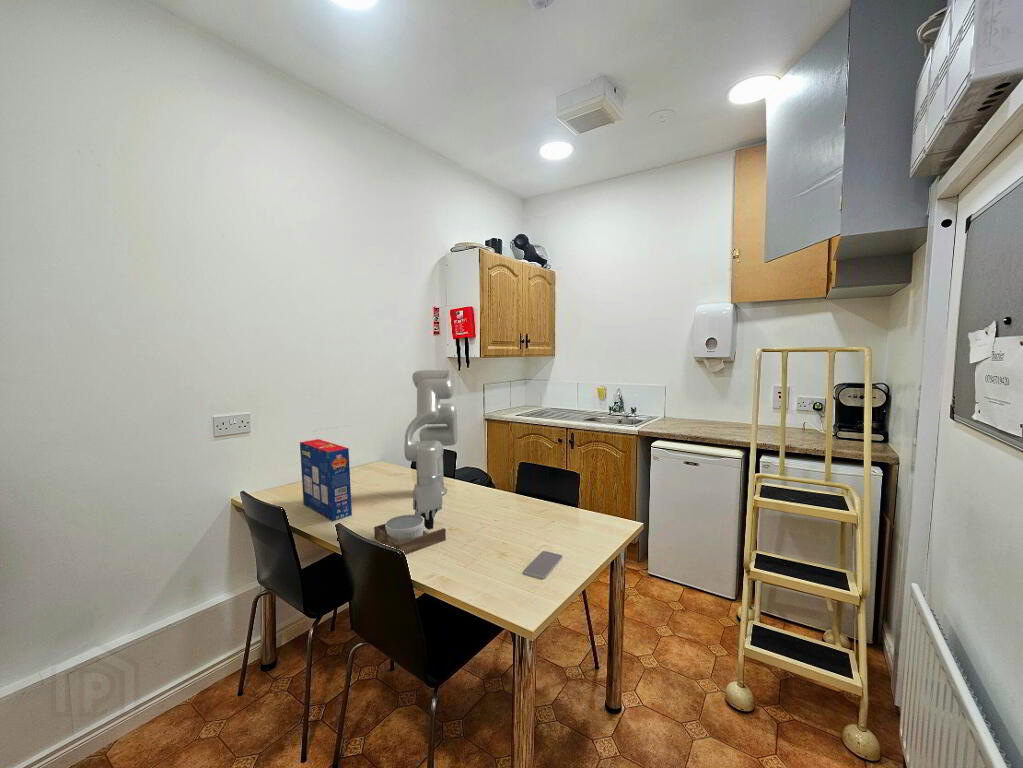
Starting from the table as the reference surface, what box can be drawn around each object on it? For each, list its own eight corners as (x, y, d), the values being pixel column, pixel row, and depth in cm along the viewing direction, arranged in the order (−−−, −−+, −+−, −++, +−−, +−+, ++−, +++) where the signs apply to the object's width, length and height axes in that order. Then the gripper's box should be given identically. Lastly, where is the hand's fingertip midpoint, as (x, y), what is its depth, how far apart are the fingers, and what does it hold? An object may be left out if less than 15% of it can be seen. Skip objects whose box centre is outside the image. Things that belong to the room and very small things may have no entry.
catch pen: (374, 537, 148) (374, 526, 148) (419, 523, 160) (419, 513, 159) (398, 557, 134) (397, 545, 133) (445, 539, 145) (445, 529, 145)
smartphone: (563, 555, 132) (544, 577, 119) (563, 558, 132) (544, 580, 119) (542, 550, 136) (521, 571, 123) (542, 553, 136) (521, 574, 123)
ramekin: (409, 529, 154) (408, 511, 154) (432, 538, 146) (432, 519, 146) (378, 542, 144) (377, 523, 144) (401, 553, 136) (401, 533, 135)
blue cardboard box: (351, 515, 169) (348, 448, 166) (332, 521, 163) (328, 452, 160) (321, 499, 187) (318, 439, 185) (303, 504, 181) (299, 442, 179)
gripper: (439, 472, 158) (441, 519, 159) (403, 481, 148) (405, 531, 150) (450, 477, 152) (452, 525, 154) (413, 486, 142) (415, 538, 144)
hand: (429, 528), depth 152 cm, fingers closed
